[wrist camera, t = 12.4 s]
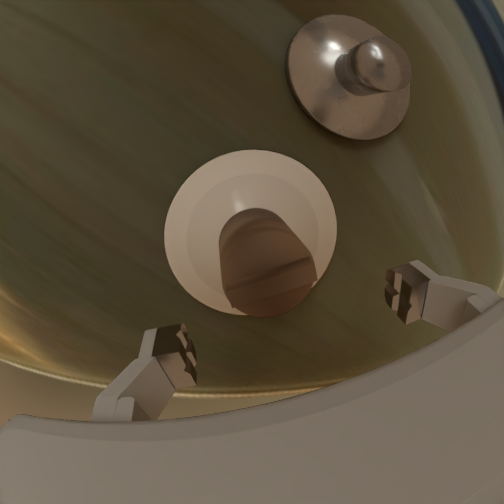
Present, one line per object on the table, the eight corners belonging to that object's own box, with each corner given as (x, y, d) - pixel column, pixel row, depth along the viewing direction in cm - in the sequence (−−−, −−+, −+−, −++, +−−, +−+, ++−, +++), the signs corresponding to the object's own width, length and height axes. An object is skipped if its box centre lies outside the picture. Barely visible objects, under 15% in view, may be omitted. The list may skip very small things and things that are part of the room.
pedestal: (336, -1, 13) (366, -27, 9) (419, 87, 17) (461, 83, 12) (255, 73, 15) (271, 50, 11) (358, 166, 19) (398, 176, 14)
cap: (280, 198, 17) (311, 225, 12) (296, 263, 19) (326, 308, 14) (208, 221, 17) (207, 257, 12) (231, 284, 19) (239, 336, 14)
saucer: (238, 113, 16) (240, 111, 15) (358, 220, 20) (367, 225, 19) (136, 253, 19) (132, 261, 18) (262, 328, 23) (264, 339, 22)
